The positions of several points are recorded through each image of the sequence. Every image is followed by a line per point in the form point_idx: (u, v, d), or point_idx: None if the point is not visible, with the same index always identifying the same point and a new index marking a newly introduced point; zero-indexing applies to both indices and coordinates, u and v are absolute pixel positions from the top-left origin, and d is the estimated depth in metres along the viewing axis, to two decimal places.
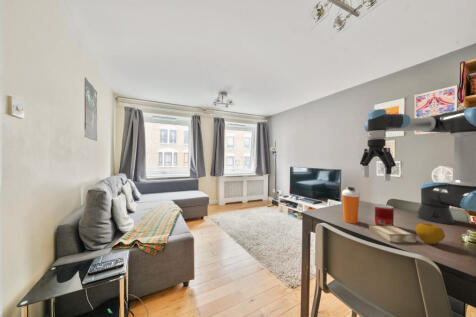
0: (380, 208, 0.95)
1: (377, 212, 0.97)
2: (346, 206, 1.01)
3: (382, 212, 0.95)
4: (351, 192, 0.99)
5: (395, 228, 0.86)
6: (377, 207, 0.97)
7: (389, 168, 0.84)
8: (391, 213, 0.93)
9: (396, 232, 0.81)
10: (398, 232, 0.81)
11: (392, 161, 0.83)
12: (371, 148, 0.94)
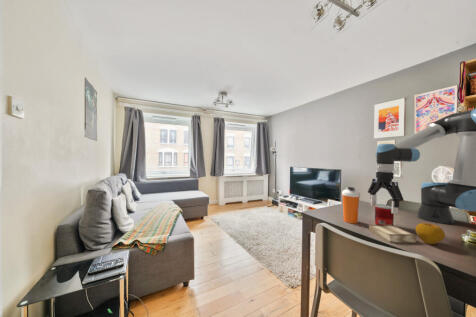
0: (380, 208, 0.95)
1: (377, 212, 0.97)
2: (346, 206, 1.01)
3: (382, 212, 0.95)
4: (351, 192, 0.99)
5: (395, 228, 0.86)
6: (377, 207, 0.97)
7: (397, 202, 0.89)
8: (391, 213, 0.93)
9: (396, 232, 0.81)
10: (398, 232, 0.81)
11: (400, 196, 0.88)
12: (379, 179, 0.99)
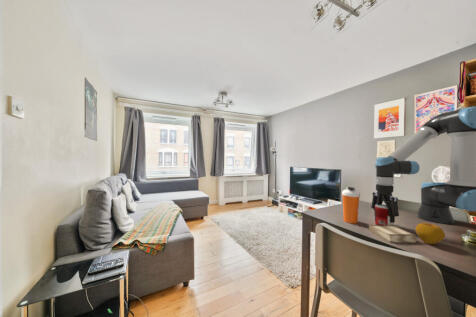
0: (380, 208, 0.95)
1: (377, 212, 0.97)
2: (346, 206, 1.01)
3: (382, 212, 0.95)
4: (351, 192, 0.99)
5: (395, 228, 0.86)
6: (377, 207, 0.97)
7: (392, 217, 0.91)
8: None
9: (396, 232, 0.81)
10: (398, 232, 0.81)
11: (396, 212, 0.90)
12: (379, 191, 0.99)
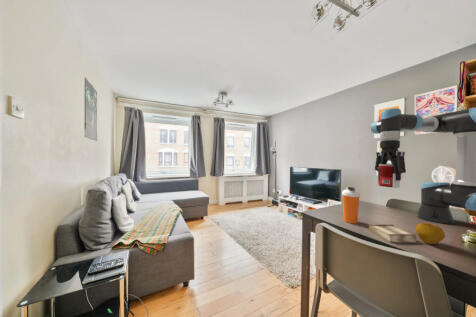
0: (384, 166, 0.85)
1: (381, 171, 0.87)
2: (346, 206, 1.01)
3: (386, 170, 0.85)
4: (351, 192, 0.99)
5: (395, 228, 0.86)
6: (381, 165, 0.87)
7: (398, 174, 0.81)
8: None
9: (396, 232, 0.81)
10: (398, 232, 0.81)
11: (403, 167, 0.80)
12: (383, 149, 0.89)
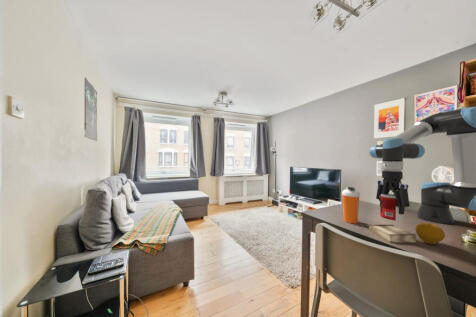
0: (387, 198, 0.82)
1: (383, 202, 0.83)
2: (346, 206, 1.01)
3: (389, 202, 0.81)
4: (351, 192, 0.99)
5: (395, 228, 0.86)
6: (383, 197, 0.84)
7: (402, 208, 0.78)
8: None
9: (396, 232, 0.81)
10: (398, 232, 0.81)
11: (406, 201, 0.76)
12: (385, 179, 0.86)
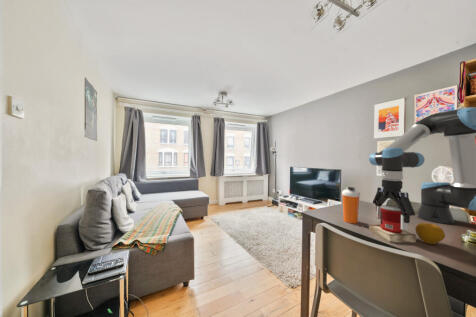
0: (387, 210, 0.82)
1: (383, 215, 0.84)
2: (346, 206, 1.01)
3: (389, 215, 0.81)
4: (351, 192, 0.99)
5: None
6: (383, 209, 0.84)
7: (407, 217, 0.76)
8: (400, 216, 0.80)
9: None
10: None
11: (411, 209, 0.75)
12: (386, 188, 0.86)
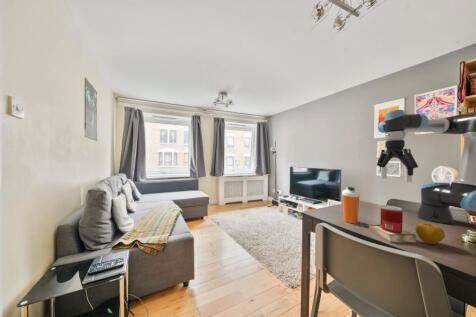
0: (387, 210, 0.82)
1: (383, 215, 0.84)
2: (346, 206, 1.01)
3: (389, 215, 0.81)
4: (351, 192, 0.99)
5: None
6: (383, 209, 0.84)
7: (411, 169, 0.83)
8: (400, 216, 0.80)
9: None
10: None
11: (414, 162, 0.82)
12: (389, 149, 0.93)
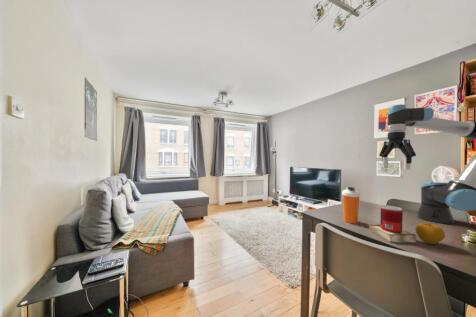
0: (387, 210, 0.82)
1: (383, 215, 0.84)
2: (346, 206, 1.01)
3: (389, 215, 0.81)
4: (351, 192, 0.99)
5: None
6: (383, 209, 0.84)
7: (409, 158, 0.93)
8: (400, 216, 0.80)
9: None
10: None
11: (412, 151, 0.92)
12: (391, 140, 1.03)
